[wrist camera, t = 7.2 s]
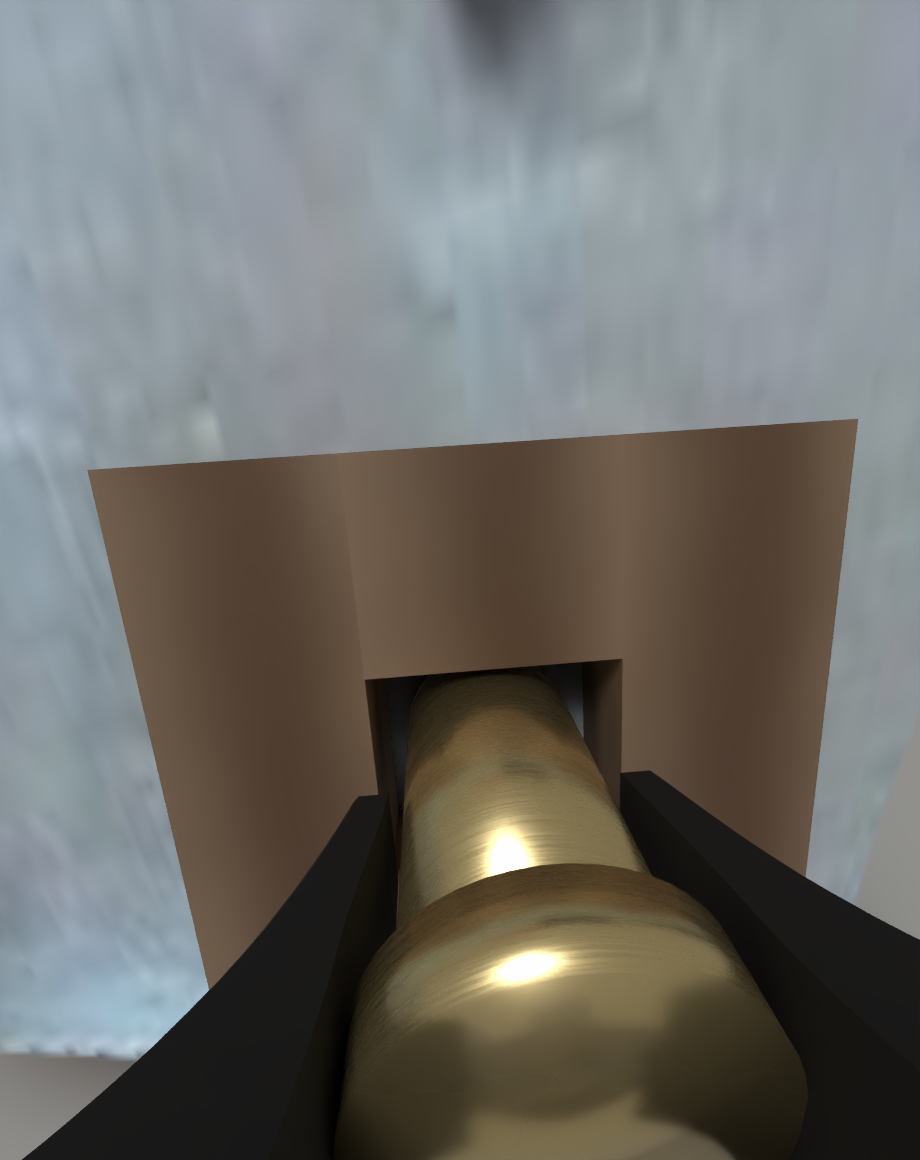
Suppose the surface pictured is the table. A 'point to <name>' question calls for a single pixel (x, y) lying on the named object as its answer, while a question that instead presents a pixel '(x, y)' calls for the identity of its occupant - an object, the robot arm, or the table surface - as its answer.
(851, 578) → the table surface
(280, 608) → the socket plate
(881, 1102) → the robot arm
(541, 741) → the brass pin
